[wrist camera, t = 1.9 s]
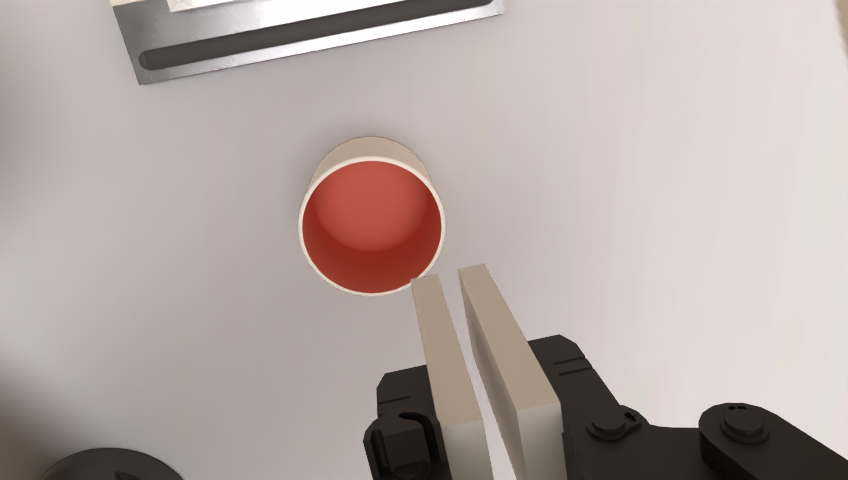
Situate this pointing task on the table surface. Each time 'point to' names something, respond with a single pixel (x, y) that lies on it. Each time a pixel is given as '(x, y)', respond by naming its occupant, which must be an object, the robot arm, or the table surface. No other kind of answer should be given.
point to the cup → (371, 218)
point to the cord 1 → (299, 31)
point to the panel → (251, 27)
